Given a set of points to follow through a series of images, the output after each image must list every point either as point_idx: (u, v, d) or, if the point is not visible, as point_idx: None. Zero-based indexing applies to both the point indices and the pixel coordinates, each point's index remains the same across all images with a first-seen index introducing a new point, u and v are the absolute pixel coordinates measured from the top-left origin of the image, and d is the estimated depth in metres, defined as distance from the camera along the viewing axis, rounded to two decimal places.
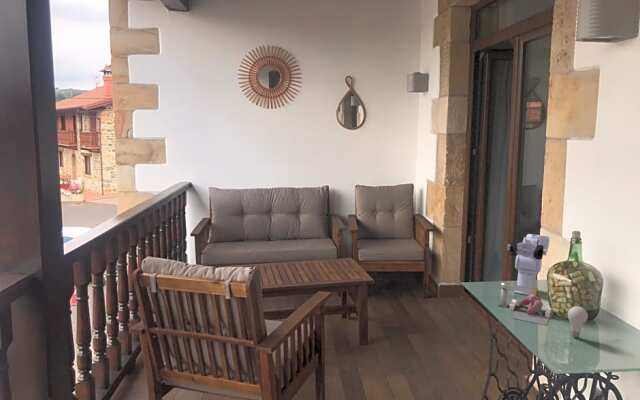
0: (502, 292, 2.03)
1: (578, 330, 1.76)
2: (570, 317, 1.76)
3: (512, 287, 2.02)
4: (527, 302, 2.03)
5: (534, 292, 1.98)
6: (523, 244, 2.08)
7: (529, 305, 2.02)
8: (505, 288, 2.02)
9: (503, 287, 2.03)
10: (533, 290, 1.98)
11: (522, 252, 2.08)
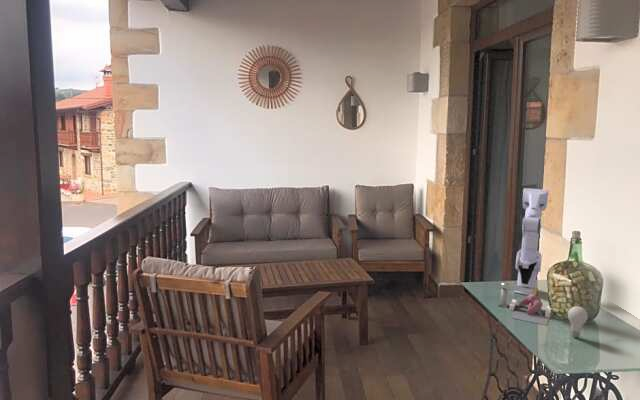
0: (502, 292, 2.03)
1: (578, 330, 1.76)
2: (570, 317, 1.76)
3: (512, 287, 2.02)
4: (527, 302, 2.03)
5: (534, 292, 1.98)
6: None
7: (529, 305, 2.02)
8: (505, 288, 2.02)
9: (503, 287, 2.03)
10: (533, 290, 1.98)
11: None
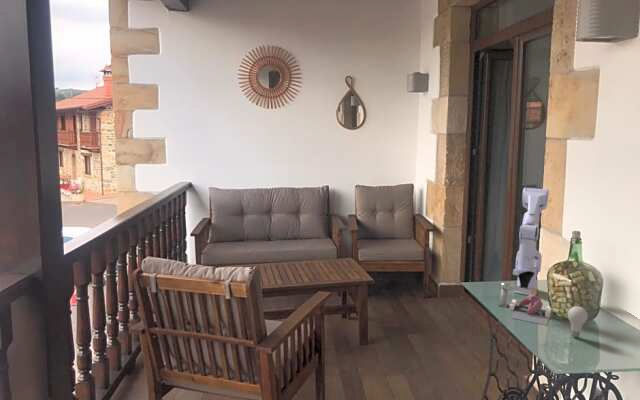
0: (502, 292, 2.03)
1: (578, 330, 1.76)
2: (570, 317, 1.76)
3: (512, 287, 2.01)
4: (527, 302, 2.03)
5: (533, 293, 1.97)
6: None
7: (529, 305, 2.02)
8: (505, 288, 2.02)
9: (503, 287, 2.03)
10: (532, 291, 1.97)
11: None
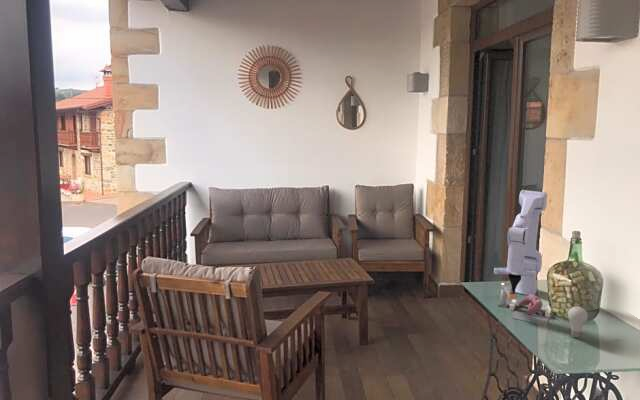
0: (502, 292, 2.03)
1: (578, 330, 1.76)
2: (570, 317, 1.76)
3: (504, 287, 2.01)
4: (527, 302, 2.03)
5: (509, 296, 1.93)
6: None
7: (529, 305, 2.02)
8: (501, 287, 2.03)
9: (501, 286, 2.04)
10: (509, 294, 1.93)
11: None
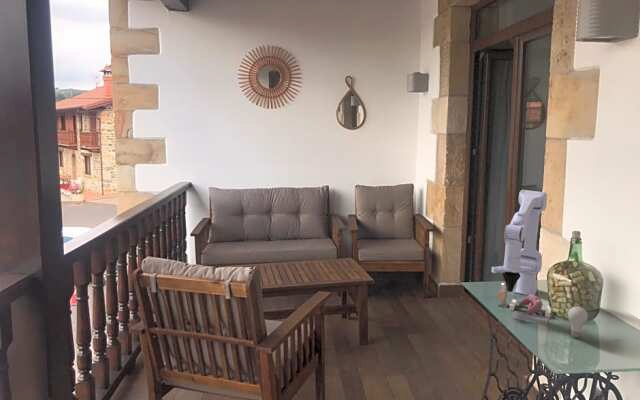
0: None
1: (578, 330, 1.76)
2: (570, 317, 1.76)
3: (501, 287, 2.01)
4: (527, 302, 2.03)
5: (498, 294, 1.94)
6: None
7: (529, 305, 2.02)
8: (501, 287, 2.04)
9: None
10: None
11: None
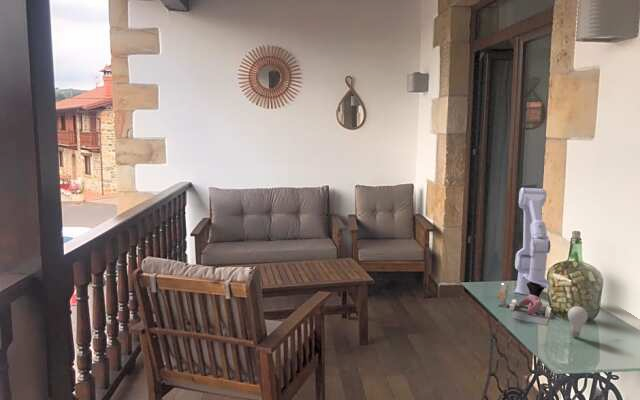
0: None
1: (578, 330, 1.76)
2: (570, 317, 1.76)
3: (501, 287, 2.01)
4: (527, 302, 2.03)
5: (498, 294, 1.94)
6: None
7: (529, 305, 2.02)
8: (501, 287, 2.04)
9: None
10: None
11: None
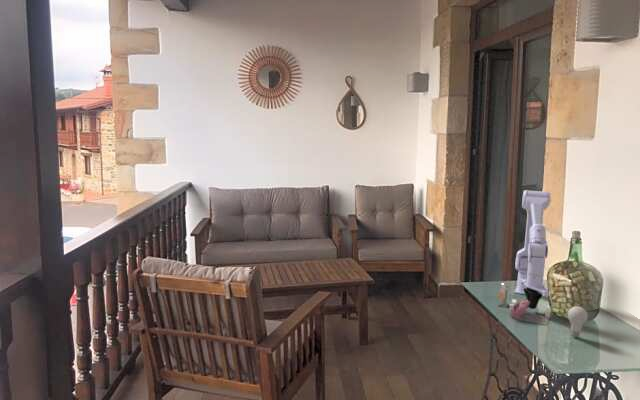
0: None
1: (578, 330, 1.76)
2: (570, 317, 1.76)
3: (501, 287, 2.01)
4: None
5: (498, 294, 1.94)
6: None
7: None
8: (501, 287, 2.04)
9: None
10: None
11: None
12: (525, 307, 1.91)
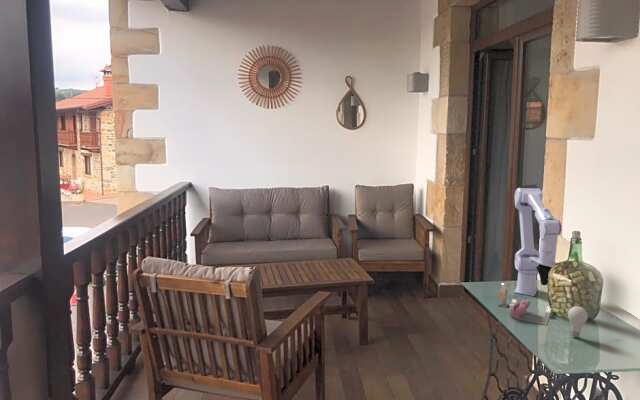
0: None
1: (578, 330, 1.76)
2: (570, 317, 1.76)
3: (501, 287, 2.01)
4: None
5: (498, 294, 1.94)
6: None
7: None
8: (501, 287, 2.04)
9: None
10: None
11: None
12: (525, 307, 1.91)
